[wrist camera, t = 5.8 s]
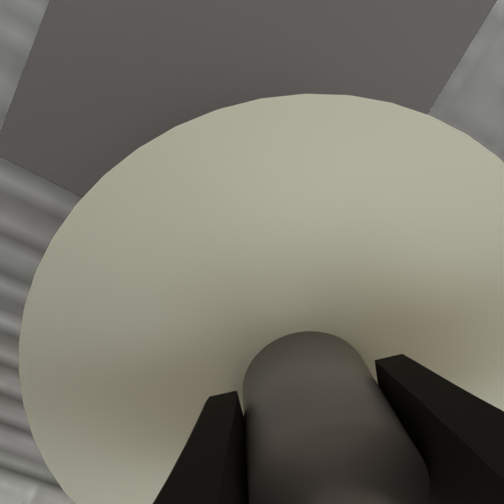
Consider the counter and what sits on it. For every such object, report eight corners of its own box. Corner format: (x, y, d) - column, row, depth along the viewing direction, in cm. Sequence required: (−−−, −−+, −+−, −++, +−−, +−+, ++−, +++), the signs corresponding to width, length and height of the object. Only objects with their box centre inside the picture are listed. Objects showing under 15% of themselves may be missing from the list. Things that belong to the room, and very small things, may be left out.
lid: (-41, 478, 10) (-176, 652, 7) (171, -36, 7) (121, -188, 4) (377, 613, 13) (434, 793, 9) (662, 263, 10) (901, 334, 6)
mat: (-2, 152, 17) (-8, 152, 16) (150, -253, 13) (148, -264, 13) (306, 304, 19) (307, 308, 19) (494, -2, 16) (500, -6, 16)
